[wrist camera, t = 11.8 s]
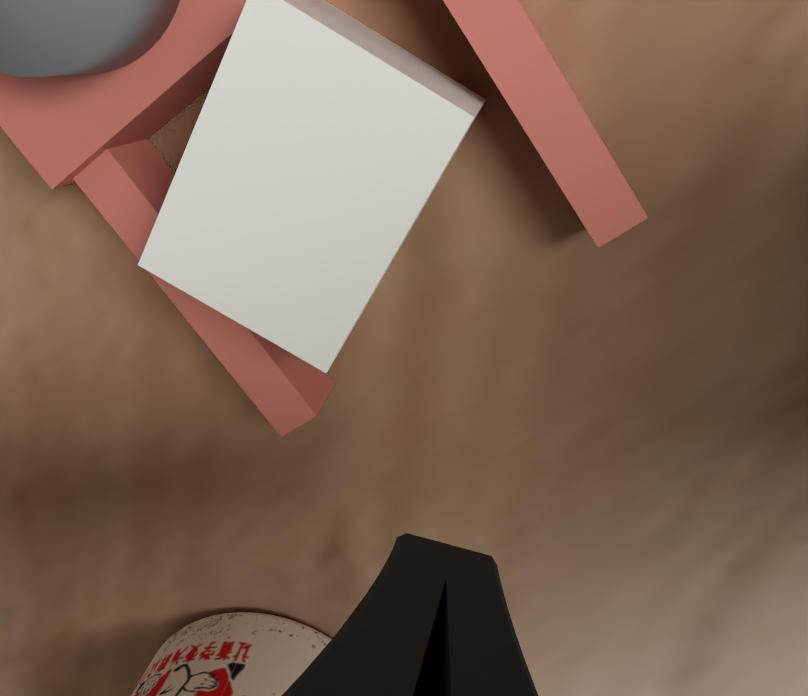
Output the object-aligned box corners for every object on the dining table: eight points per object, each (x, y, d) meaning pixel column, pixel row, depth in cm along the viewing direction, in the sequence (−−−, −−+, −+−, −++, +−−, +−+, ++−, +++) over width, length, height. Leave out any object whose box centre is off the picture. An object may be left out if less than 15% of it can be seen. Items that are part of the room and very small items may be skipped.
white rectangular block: (486, 99, 17) (474, 117, 13) (367, 303, 20) (326, 373, 16) (319, -4, 17) (253, -18, 13) (219, 217, 19) (137, 265, 15)
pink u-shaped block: (646, 192, 17) (685, 238, 13) (294, 407, 21) (238, 496, 17) (284, -417, 14) (186, -608, 10) (-57, -37, 18) (-233, -62, 14)
